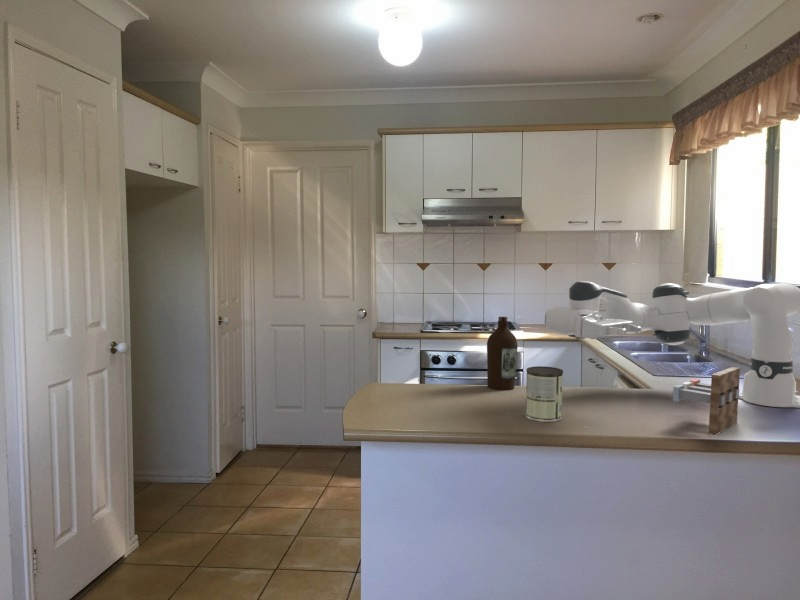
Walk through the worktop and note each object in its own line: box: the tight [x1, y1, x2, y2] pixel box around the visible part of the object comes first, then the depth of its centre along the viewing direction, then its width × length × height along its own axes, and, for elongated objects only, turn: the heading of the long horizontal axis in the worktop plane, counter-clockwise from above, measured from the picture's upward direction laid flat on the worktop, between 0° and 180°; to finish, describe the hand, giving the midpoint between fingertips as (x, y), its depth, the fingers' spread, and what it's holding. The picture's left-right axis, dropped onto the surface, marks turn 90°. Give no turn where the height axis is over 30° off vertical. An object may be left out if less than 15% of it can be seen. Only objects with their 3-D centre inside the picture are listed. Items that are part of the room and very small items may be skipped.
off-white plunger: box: [681, 381, 732, 402], centre depth 178 cm, size 4×12×4 cm, turn 45°
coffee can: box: [525, 365, 564, 423], centre depth 183 cm, size 10×10×14 cm
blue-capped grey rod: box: [672, 384, 725, 406], centre depth 174 cm, size 4×12×4 cm, turn 45°
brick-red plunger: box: [689, 378, 740, 399], centre depth 182 cm, size 4×12×4 cm, turn 45°
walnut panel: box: [708, 366, 741, 435], centre depth 175 cm, size 17×2×16 cm, turn 135°
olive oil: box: [486, 316, 519, 391], centre depth 222 cm, size 11×11×25 cm
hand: (632, 331), depth 188 cm, fingers open, 8 cm apart
